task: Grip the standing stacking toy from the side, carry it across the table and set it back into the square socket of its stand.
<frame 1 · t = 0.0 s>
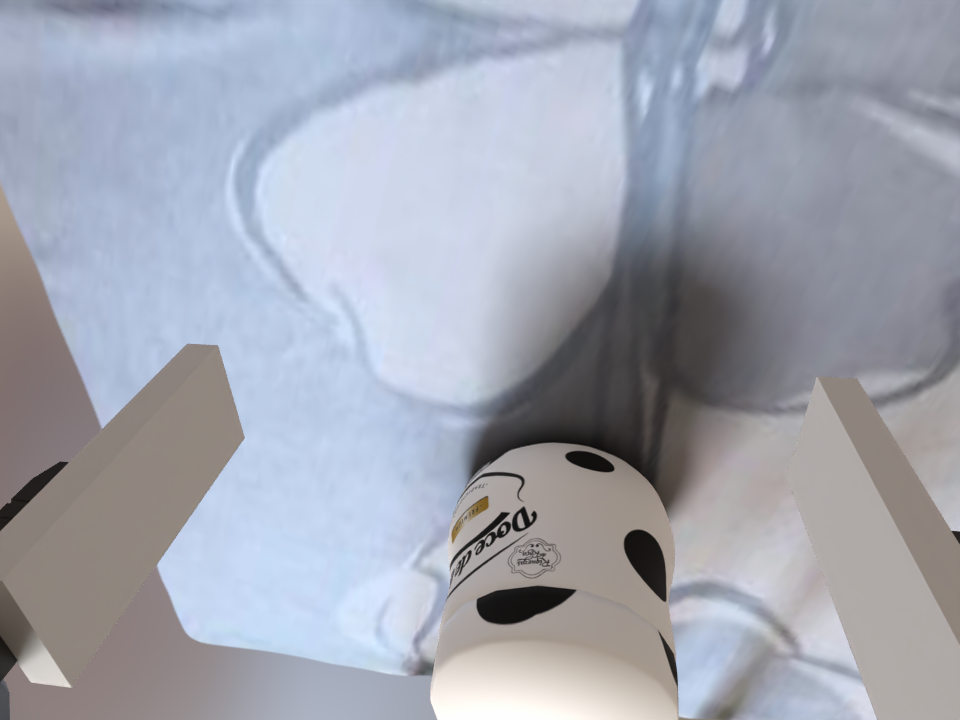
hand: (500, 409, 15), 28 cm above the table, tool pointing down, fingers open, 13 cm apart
milk container: (561, 502, 54), on the table
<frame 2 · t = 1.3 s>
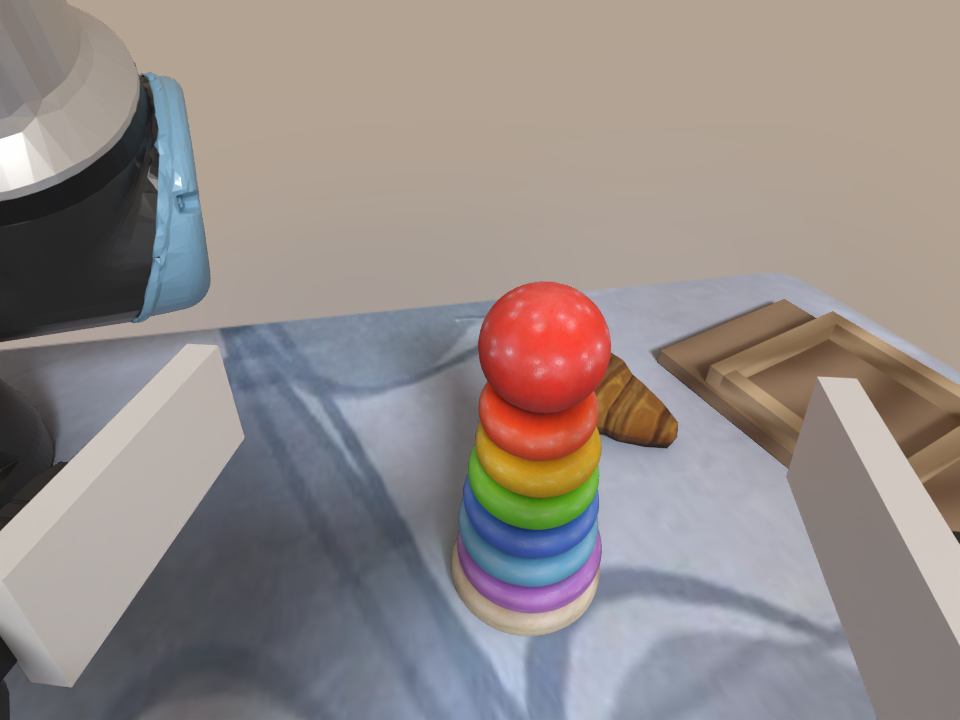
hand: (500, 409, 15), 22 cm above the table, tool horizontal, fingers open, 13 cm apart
toy stand: (840, 418, 45), on the table
stacking toy: (523, 575, 36), on the table
croissant: (581, 412, 46), on the table
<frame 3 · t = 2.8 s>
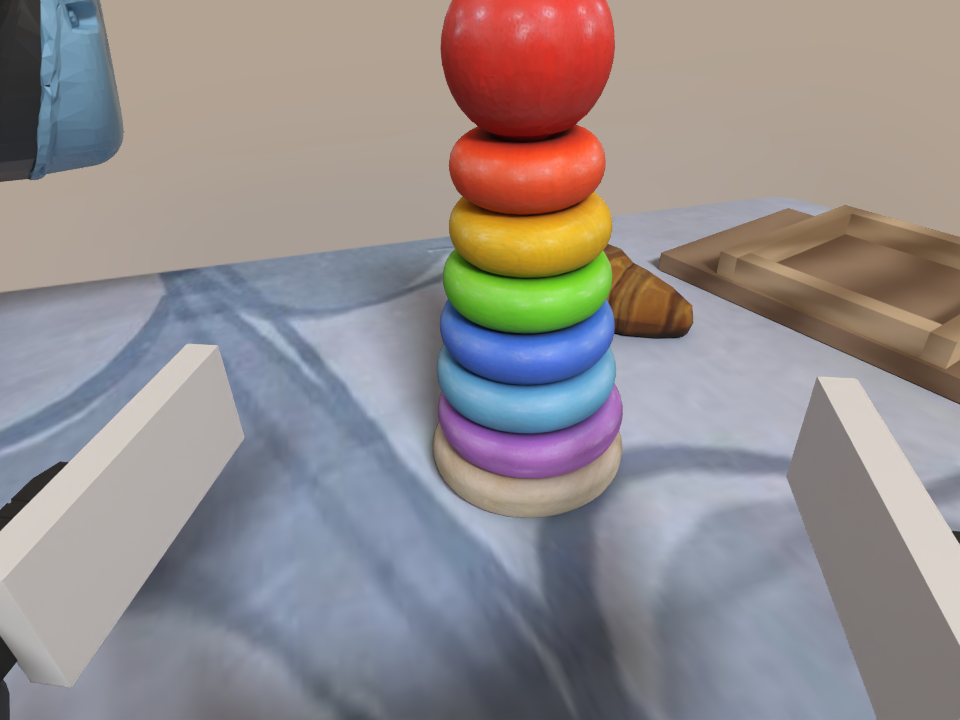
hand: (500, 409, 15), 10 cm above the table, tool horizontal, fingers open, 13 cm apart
toy stand: (875, 300, 39), on the table
stacking toy: (526, 462, 28), on the table
croissant: (578, 318, 40), on the table
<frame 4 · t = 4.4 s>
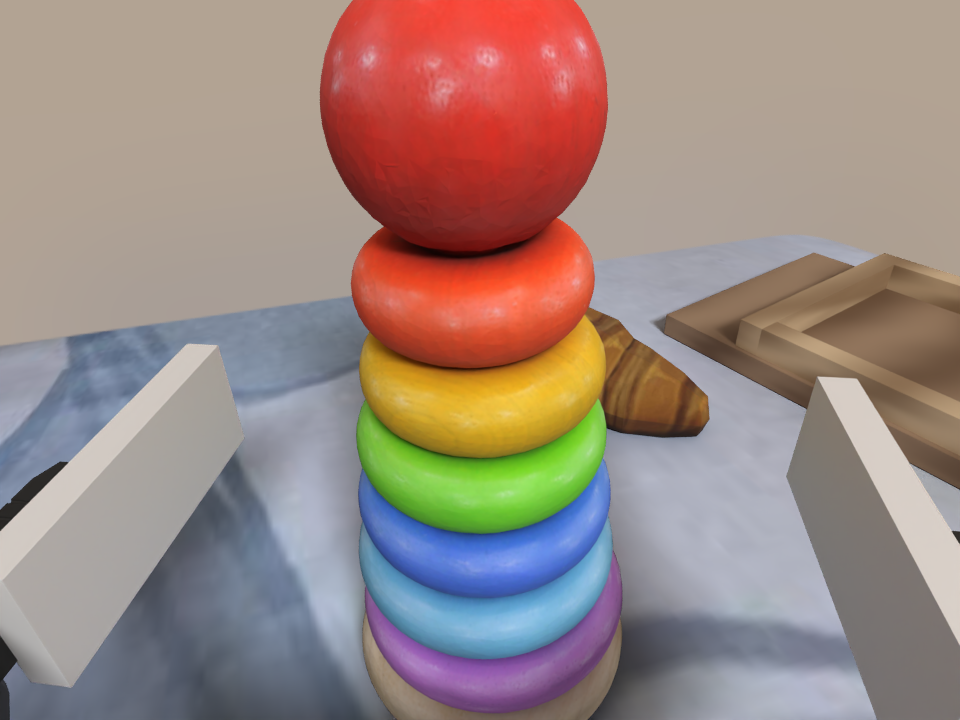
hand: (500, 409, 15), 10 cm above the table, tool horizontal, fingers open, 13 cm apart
toy stand: (931, 379, 32), on the table
stacking toy: (492, 643, 21), on the table
croissant: (566, 402, 32), on the table
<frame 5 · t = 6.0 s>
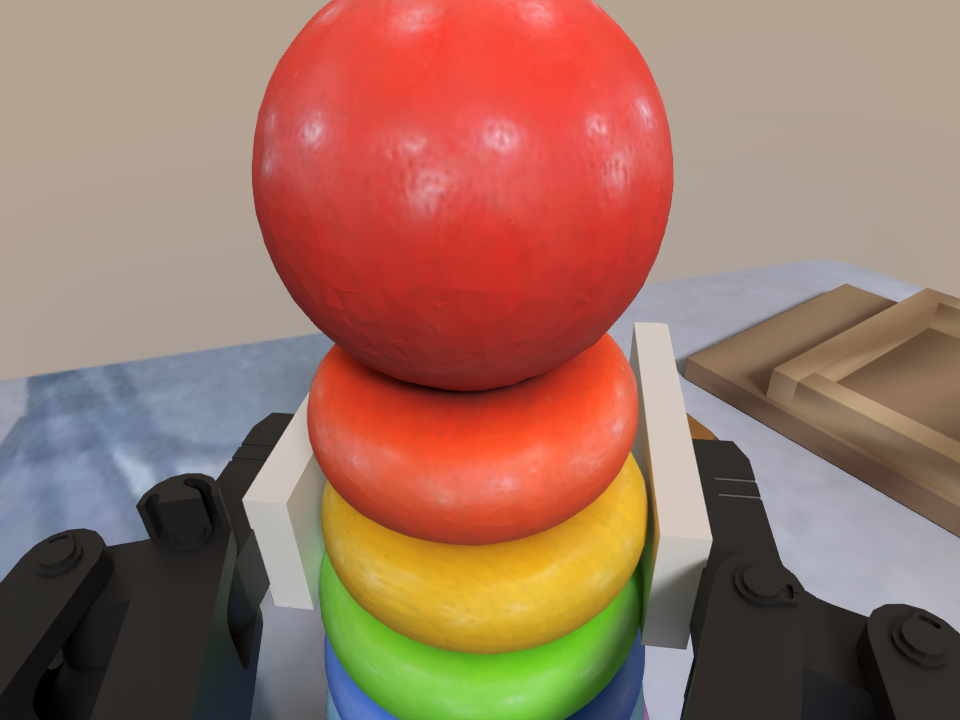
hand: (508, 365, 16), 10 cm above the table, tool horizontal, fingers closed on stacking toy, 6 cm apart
croissant: (576, 459, 29), on the table
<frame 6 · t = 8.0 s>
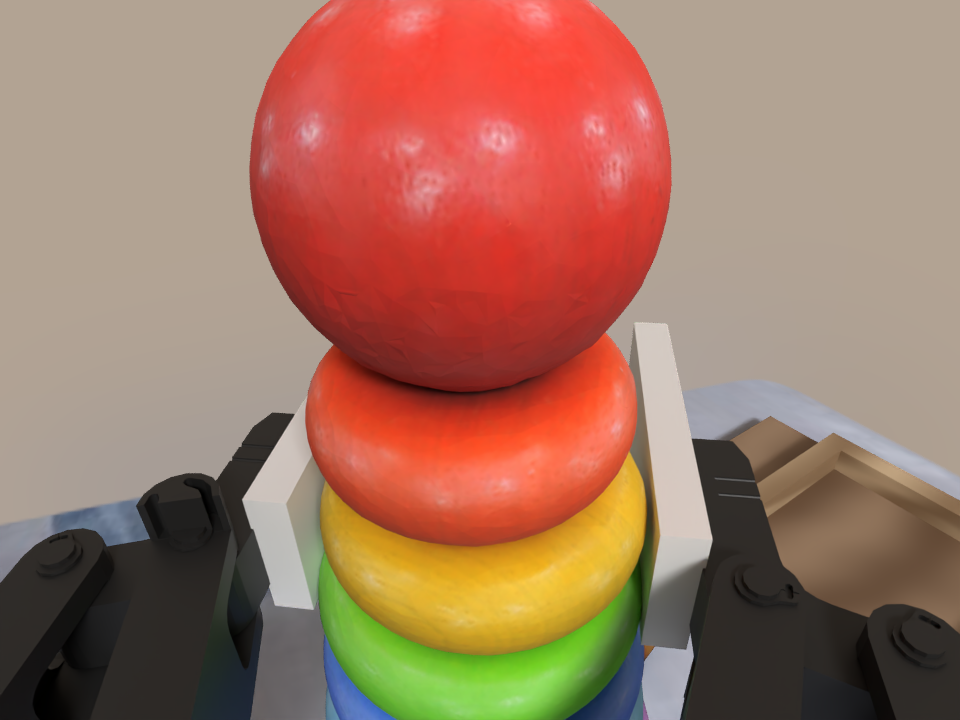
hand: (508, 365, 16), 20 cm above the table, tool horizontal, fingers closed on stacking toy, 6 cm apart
toy stand: (868, 585, 34), on the table
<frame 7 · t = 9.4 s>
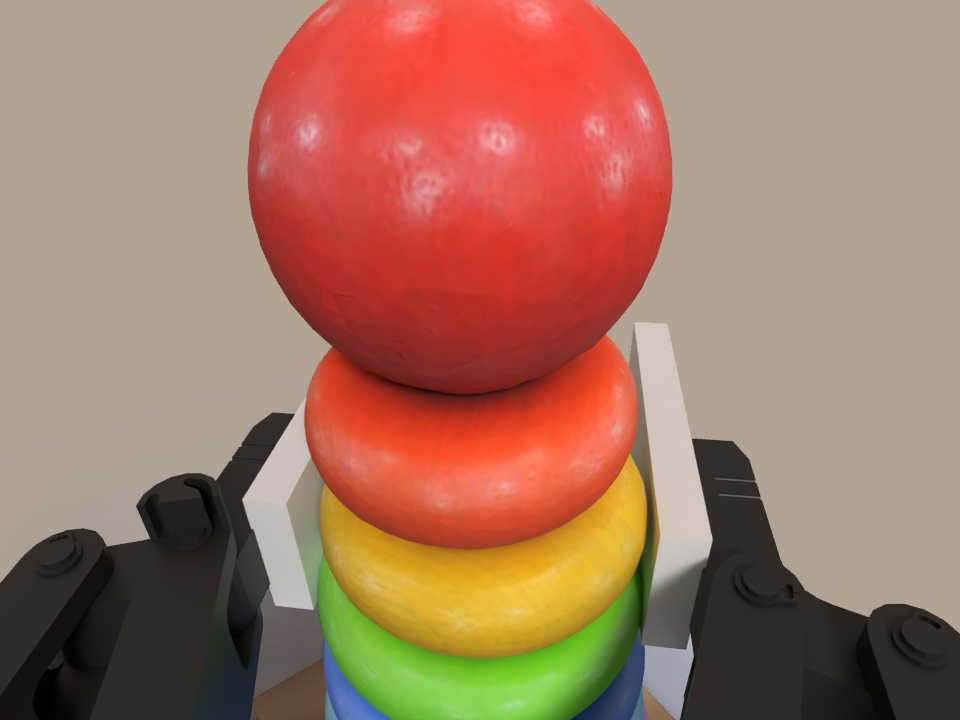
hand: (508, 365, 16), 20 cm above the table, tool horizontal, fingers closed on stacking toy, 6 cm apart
when the fingers open (13 cm above the table, at t = 11.8 s): stacking toy drops 1 cm, resting on toy stand.
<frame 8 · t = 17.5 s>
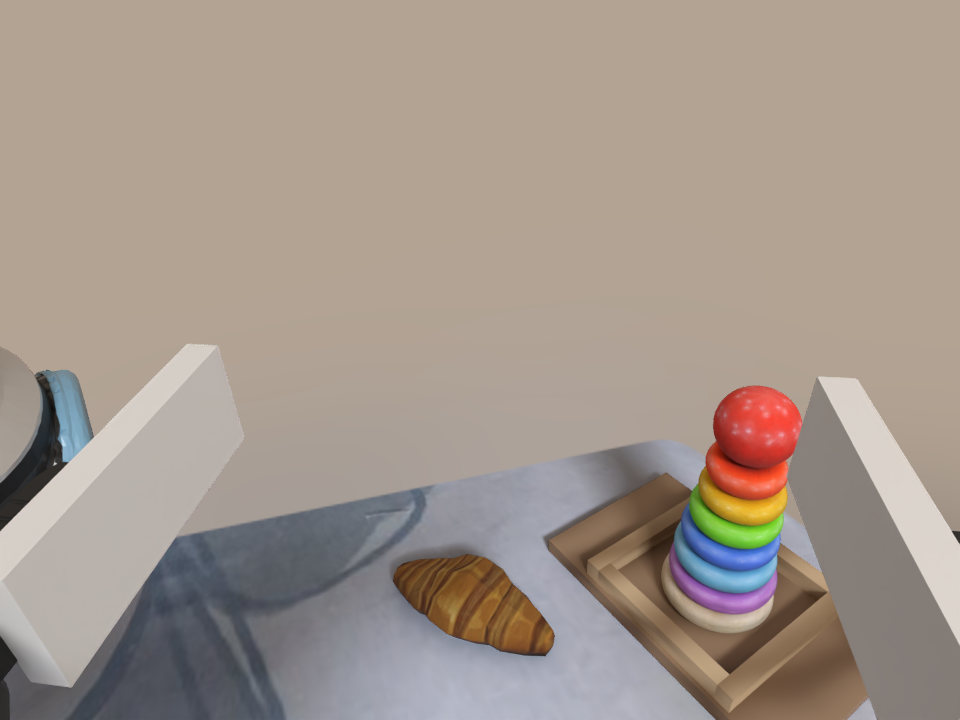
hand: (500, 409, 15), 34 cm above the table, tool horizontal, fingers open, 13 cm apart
toy stand: (710, 600, 50), on the table
stacking toy: (713, 593, 49), point 1 cm above the table, touching toy stand
croissant: (471, 617, 49), on the table
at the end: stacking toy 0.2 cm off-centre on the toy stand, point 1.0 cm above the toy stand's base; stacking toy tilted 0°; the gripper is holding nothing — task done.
